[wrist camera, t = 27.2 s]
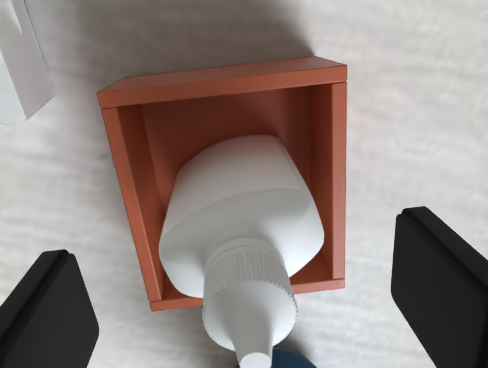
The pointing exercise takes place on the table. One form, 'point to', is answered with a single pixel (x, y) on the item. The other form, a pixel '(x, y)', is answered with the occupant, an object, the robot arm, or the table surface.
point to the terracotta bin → (222, 128)
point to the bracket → (20, 66)
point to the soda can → (288, 359)
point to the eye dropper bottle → (241, 241)
